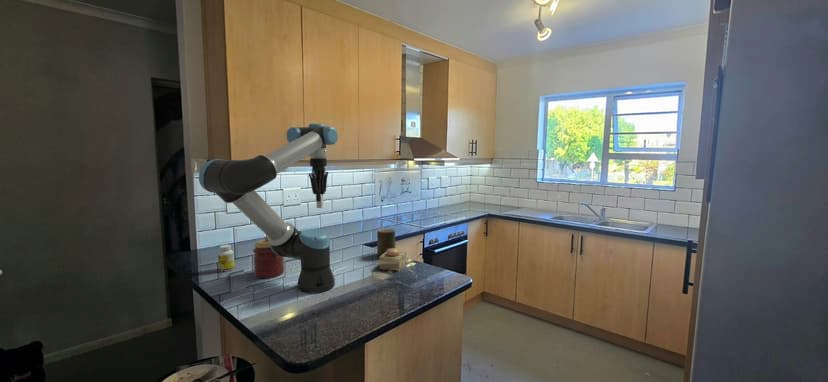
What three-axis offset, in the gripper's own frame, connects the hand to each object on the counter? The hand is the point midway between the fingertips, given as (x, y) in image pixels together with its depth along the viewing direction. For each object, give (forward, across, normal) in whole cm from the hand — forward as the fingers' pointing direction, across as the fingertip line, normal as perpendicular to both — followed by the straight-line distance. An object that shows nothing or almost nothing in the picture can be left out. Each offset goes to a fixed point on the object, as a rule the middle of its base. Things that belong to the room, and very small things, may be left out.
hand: (320, 207), depth 164 cm
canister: (+30, -14, +19) cm, 38 cm away
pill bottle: (+30, -16, +42) cm, 54 cm away
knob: (+29, +12, -32) cm, 45 cm away
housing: (+29, +12, -32) cm, 45 cm away
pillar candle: (+30, +28, -22) cm, 46 cm away
